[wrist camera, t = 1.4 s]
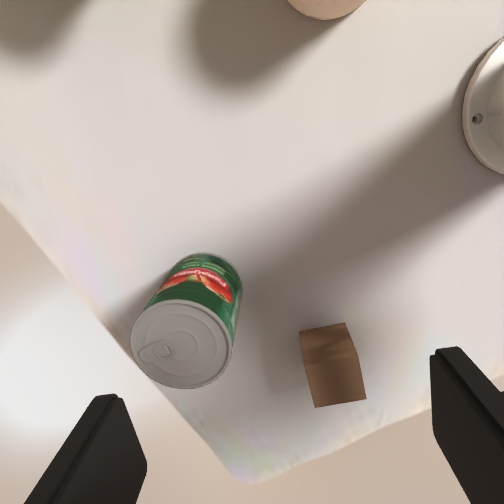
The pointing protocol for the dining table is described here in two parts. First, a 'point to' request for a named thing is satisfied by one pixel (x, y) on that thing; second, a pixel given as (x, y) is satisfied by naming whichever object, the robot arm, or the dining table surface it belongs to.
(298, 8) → the teacup with lid
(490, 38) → the dining table surface
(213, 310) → the canned tomato
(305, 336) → the walnut block
